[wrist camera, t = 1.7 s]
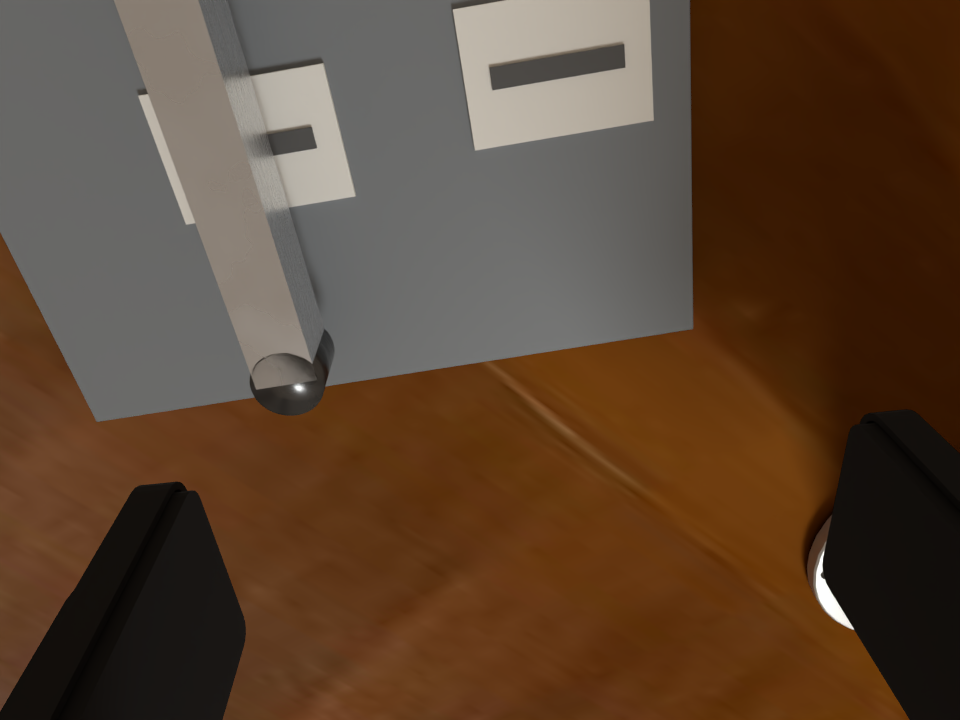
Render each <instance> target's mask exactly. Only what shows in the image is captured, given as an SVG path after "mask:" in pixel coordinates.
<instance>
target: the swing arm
mask: <svg viewBox="0 0 960 720" xmlns="http://www.w3.org/2000/svg"><path fill="white" fill-rule="evenodd" d="M114 2H115V5H116V8H117V11H118V13H119V16H120V19H121V21H122V24H123V27H124V30H125V32H126V35H127V38H128V41H129V43H130V46H131V49H132V51H133V54H134V57H135V60H136V62H137V65H138V68H139V71H140V73H141V76H142V79H143V82H144V84H145V87H146V90H147V92H148V95H149V98H150V101H151V103H152V106H153V109H154V112H155V114H156V117H157V120H158V122H159V125H160V128H161V131H162V133H163V136H164V139H165V142H166V144H167V147H168V150H169V153H170V155H171V158H172V161H173V163H174V166H175V169H176V172H177V174H178V177H179V180H180V183H181V185H182V188H183V191H184V193H185V196H186V199H187V202H188V204H189V207H190V210H191V213H192V215H193V218H194V221H195V224H196V226H197V229H198V232H199V234H200V237H201V240H202V243H203V245H204V248H205V251H206V254H207V256H208V259H209V262H210V265H211V267H212V270H213V273H214V275H215V278H216V281H217V284H218V286H219V289H220V292H221V295H222V297H223V300H224V303H225V305H226V308H227V311H228V314H229V316H230V319H231V322H232V325H233V327H234V330H235V333H236V336H237V338H238V341H239V344H240V346H241V349H242V352H243V355H244V357H245V360H246V363H247V366H248V368H249V371H250V388H251V391H252V393H253V395H254V397H255V398H256V400H257V401H258V402H259V403H260V404H261V405H262V406H264V407H265V408H267V409H268V410H270V411H272V412H275V413H278V414H282V415H299V414H303V413H306V412H308V411H310V410H311V409H313V408H314V407H315V406H316V405H317V404H318V403H319V402H320V400H321V398H322V396H323V392H324V389H325V385H326V382H327V379H328V375H329V372H330V368H331V365H332V362H333V358H334V354H335V347H334V342H333V340H332V338H331V336H330V334H329V333H328V332H327V331H326V330H325V328H324V325H323V322H322V318H321V315H320V312H319V308H318V305H317V301H316V298H315V295H314V291H313V288H312V285H311V281H310V278H309V274H308V271H307V268H306V264H305V261H304V257H303V254H302V251H301V247H300V244H299V241H298V237H297V234H296V230H295V227H294V224H293V220H292V217H291V214H290V210H289V207H288V203H287V200H286V197H285V193H284V190H283V186H282V183H281V180H280V176H279V173H278V170H277V166H276V163H275V159H274V156H273V153H272V149H271V146H270V143H269V139H268V136H267V132H266V129H265V126H264V122H263V119H262V116H261V112H260V109H259V105H258V102H257V99H256V95H255V92H254V88H253V85H252V82H251V78H250V75H249V72H248V68H247V65H246V61H245V58H244V55H243V51H242V48H241V45H240V41H239V38H238V34H237V31H236V28H235V24H234V21H233V17H232V14H231V11H230V7H229V4H228V1H227V0H114Z"/></svg>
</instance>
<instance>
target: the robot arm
mask: <svg viewBox="0 0 960 720" xmlns="http://www.w3.org/2000/svg"><path fill="white" fill-rule="evenodd" d="M807 573H808V582H809V584H810V587H811V589H812V592H813V594H814V596H815V597H816V599H817V600H818V602H819V604H820V605H821V607H822V608H823V610H824V611H825V612H826V613H827V614H828V615H829V616H830V617H831V618H832V619H833V620H835V621H836V622H838V623H840V624H842V625H844V626H845V627H847V628H850V629H853V630H855V632H856V633H857V635H858V636H859V638H860V640H861V641H862V643H863V645H864V646H865V648H866V649H867V651H868V653H869V654H870V656H871V658H872V659H873V661H874V662H875V664H876V666H877V667H878V669H879V671H880V672H881V674H882V675H883V677H884V679H885V680H886V682H887V684H888V685H889V687H890V688H891V690H892V692H893V693H894V695H895V697H896V698H897V700H898V701H899V703H900V705H901V706H902V708H903V710H904V711H905V713H906V714H907V716H908V718H909V719H910V720H960V454H959V453H958V452H957V451H956V450H955V449H954V448H953V447H952V446H951V445H950V444H949V443H948V442H947V441H946V440H945V439H944V438H943V437H942V436H941V435H940V434H938V433H937V432H936V431H935V430H934V429H933V428H932V427H931V426H930V425H929V424H928V423H927V422H926V421H925V420H924V419H923V418H922V417H921V416H920V415H918V414H917V413H916V412H914V411H913V410H907V409H906V410H896V411H886V412H876V413H869V414H866V415H864V417H863V418H862V419H861V421H860V424H858V425H854V426H853V427H852V428H851V429H850V432H849V435H848V440H847V445H846V449H845V454H844V459H843V464H842V469H841V474H840V478H839V483H838V488H837V493H836V498H835V503H834V507H833V512H832V515H831V516H830V517H829V519H828V520H827V521H826V522H825V524H824V525H823V527H822V528H821V530H820V531H819V533H818V534H817V536H816V538H815V540H814V542H813V545H812V547H811V550H810V552H809V558H808V564H807ZM245 635H246V627H245V620H244V616H243V614H242V611H241V608H240V605H239V603H238V600H237V597H236V595H235V592H234V589H233V586H232V584H231V581H230V578H229V575H228V573H227V570H226V567H225V565H224V562H223V559H222V556H221V554H220V551H219V548H218V545H217V543H216V540H215V537H214V535H213V532H212V529H211V526H210V524H209V521H208V518H207V516H206V513H205V510H204V507H203V505H202V502H201V499H200V497H199V495H198V493H197V492H196V491H187V489H186V488H185V486H184V485H183V484H182V483H180V482H170V483H160V484H150V485H140V486H138V487H136V488H135V489H134V490H133V491H132V492H131V494H130V496H129V497H128V499H127V501H126V503H125V504H124V506H123V508H122V509H121V511H120V513H119V514H118V516H117V518H116V520H115V521H114V523H113V525H112V526H111V528H110V530H109V532H108V533H107V535H106V537H105V538H104V540H103V542H102V543H101V545H100V547H99V549H98V550H97V552H96V554H95V555H94V557H93V559H92V561H91V562H90V564H89V566H88V567H87V569H86V571H85V572H84V574H83V576H82V578H81V579H80V581H79V583H78V584H77V586H76V588H75V590H74V591H73V592H72V593H71V595H70V596H69V597H68V598H67V600H66V601H65V603H64V604H63V606H62V608H61V610H60V611H59V613H58V615H57V616H56V618H55V620H54V621H53V623H52V625H51V627H50V628H49V630H48V632H47V633H46V635H45V637H44V638H43V640H42V642H41V643H40V645H39V647H38V649H37V650H36V652H35V654H34V655H33V657H32V659H31V660H30V662H29V664H28V666H27V667H26V669H25V671H24V672H23V674H22V676H21V677H20V679H19V681H18V682H17V684H16V686H15V688H14V689H13V691H12V693H11V694H10V696H9V698H8V699H7V701H6V703H5V705H4V706H3V708H2V710H1V711H0V720H222V719H223V716H224V712H225V709H226V706H227V702H228V699H229V695H230V692H231V688H232V685H233V681H234V678H235V675H236V671H237V668H238V664H239V661H240V657H241V654H242V650H243V647H244V643H245Z"/></svg>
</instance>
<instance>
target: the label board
mask: <svg viewBox="0 0 960 720" xmlns="http://www.w3.org/2000/svg"><path fill="white" fill-rule="evenodd" d="M227 1H228V4H229V7H230V11H231V14H232V17H233V21H234V24H235V28H236V31H237V34H238V38H239V41H240V45H241V48H242V51H243V55H244V58H245V61H246V65H247V68H248V72H249V75H250V78H251V82H252V85H253V88H254V92H255V95H256V99H257V102H258V105H259V109H260V112H261V116H262V119H263V122H264V126H265V129H266V132H267V136H268V139H269V143H270V146H271V149H272V153H273V156H274V159H275V163H276V166H277V170H278V173H279V176H280V180H281V183H282V186H283V190H284V193H285V197H286V200H287V203H288V207H289V210H290V214H291V217H292V220H293V224H294V227H295V230H296V234H297V237H298V241H299V244H300V247H301V251H302V254H303V257H304V261H305V264H306V268H307V271H308V274H309V278H310V281H311V285H312V288H313V291H314V295H315V298H316V301H317V305H318V308H319V312H320V315H321V318H322V322H323V325H324V328H325V330H326V331H327V332H328V333H329V334H330V336H331V338H332V340H333V342H334V347H335V354H334V358H333V362H332V365H331V368H330V372H329V375H328V379H327V382H326V385H325V386H330V385H337V384H343V383H350V382H356V381H362V380H369V379H375V378H382V377H388V376H394V375H401V374H407V373H414V372H420V371H427V370H433V369H439V368H446V367H452V366H459V365H465V364H472V363H478V362H484V361H491V360H497V359H504V358H510V357H516V356H523V355H529V354H536V353H542V352H549V351H555V350H561V349H568V348H574V347H581V346H587V345H594V344H600V343H606V342H613V341H619V340H626V339H632V338H638V337H645V336H651V335H658V334H664V333H671V332H677V331H683V330H690V329H693V268H692V166H691V65H690V0H227ZM0 232H1V234H2V236H3V238H4V240H5V242H6V244H7V246H8V248H9V250H10V252H11V254H12V256H13V258H14V260H15V262H16V264H17V266H18V268H19V270H20V272H21V274H22V276H23V278H24V279H25V281H26V283H27V285H28V287H29V289H30V291H31V293H32V295H33V297H34V299H35V301H36V303H37V305H38V307H39V309H40V311H41V313H42V315H43V317H44V319H45V321H46V323H47V325H48V327H49V329H50V331H51V333H52V334H53V336H54V338H55V340H56V342H57V344H58V346H59V348H60V350H61V352H62V354H63V356H64V358H65V360H66V362H67V364H68V366H69V368H70V370H71V372H72V374H73V376H74V378H75V380H76V382H77V384H78V386H79V387H80V389H81V391H82V393H83V395H84V397H85V399H86V401H87V403H88V405H89V407H90V409H91V411H92V413H93V415H94V417H95V419H96V421H97V422H99V421H105V420H112V419H118V418H125V417H131V416H138V415H144V414H150V413H157V412H163V411H170V410H176V409H183V408H189V407H195V406H202V405H208V404H215V403H221V402H228V401H234V400H240V399H247V398H253V397H254V395H253V393H252V391H251V388H250V371H249V368H248V366H247V363H246V360H245V357H244V355H243V352H242V349H241V346H240V344H239V341H238V338H237V336H236V333H235V330H234V327H233V325H232V322H231V319H230V316H229V314H228V311H227V308H226V305H225V303H224V300H223V297H222V295H221V292H220V289H219V286H218V284H217V281H216V278H215V275H214V273H213V270H212V267H211V265H210V262H209V259H208V256H207V254H206V251H205V248H204V245H203V243H202V240H201V237H200V234H199V232H198V229H197V226H196V224H195V221H194V218H193V215H192V213H191V210H190V207H189V204H188V202H187V199H186V196H185V193H184V191H183V188H182V185H181V183H180V180H179V177H178V174H177V172H176V169H175V166H174V163H173V161H172V158H171V155H170V153H169V150H168V147H167V144H166V142H165V139H164V136H163V133H162V131H161V128H160V125H159V122H158V120H157V117H156V114H155V112H154V109H153V106H152V103H151V101H150V98H149V95H148V92H147V90H146V87H145V84H144V82H143V79H142V76H141V73H140V71H139V68H138V65H137V62H136V60H135V57H134V54H133V51H132V49H131V46H130V43H129V41H128V38H127V35H126V32H125V30H124V27H123V24H122V21H121V19H120V16H119V13H118V11H117V8H116V5H115V2H114V0H0Z"/></svg>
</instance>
